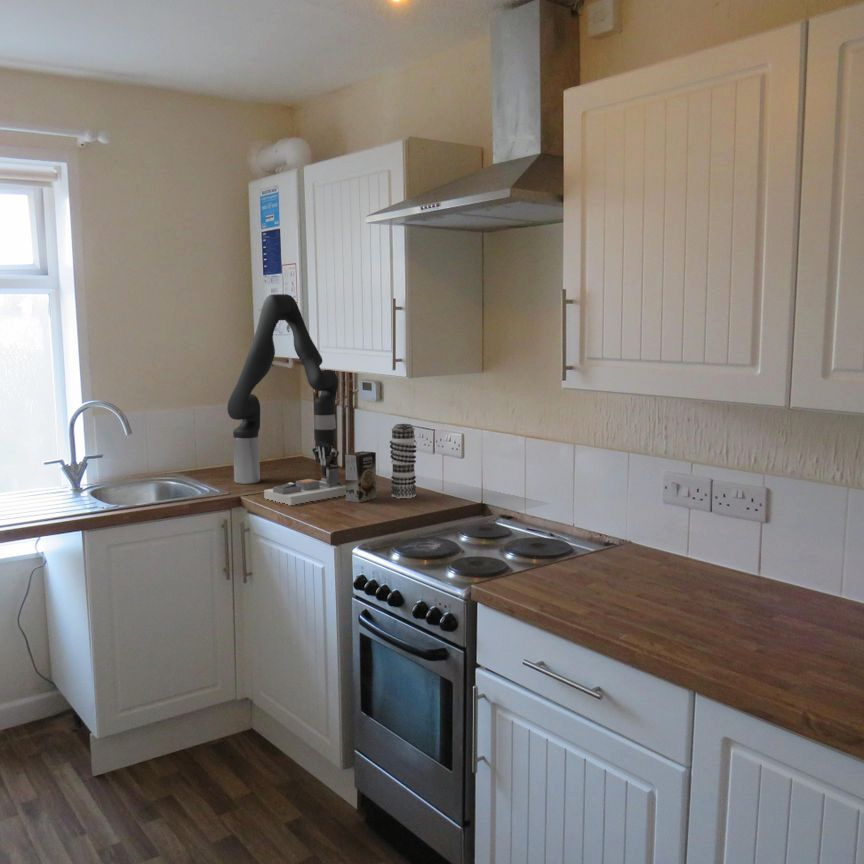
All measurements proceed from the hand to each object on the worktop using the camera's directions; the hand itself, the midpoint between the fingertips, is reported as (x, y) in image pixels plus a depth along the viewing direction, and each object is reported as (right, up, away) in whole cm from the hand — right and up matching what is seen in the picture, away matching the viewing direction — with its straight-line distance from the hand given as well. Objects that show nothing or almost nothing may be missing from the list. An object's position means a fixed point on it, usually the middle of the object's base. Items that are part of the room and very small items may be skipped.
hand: (326, 475), depth 301 cm
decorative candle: (+28, -7, -6) cm, 29 cm away
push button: (-6, -4, -6) cm, 9 cm away
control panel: (-6, -7, -6) cm, 11 cm away
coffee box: (+13, -8, -11) cm, 19 cm away
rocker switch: (-12, -3, -12) cm, 17 cm away
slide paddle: (+2, -3, -2) cm, 5 cm away
